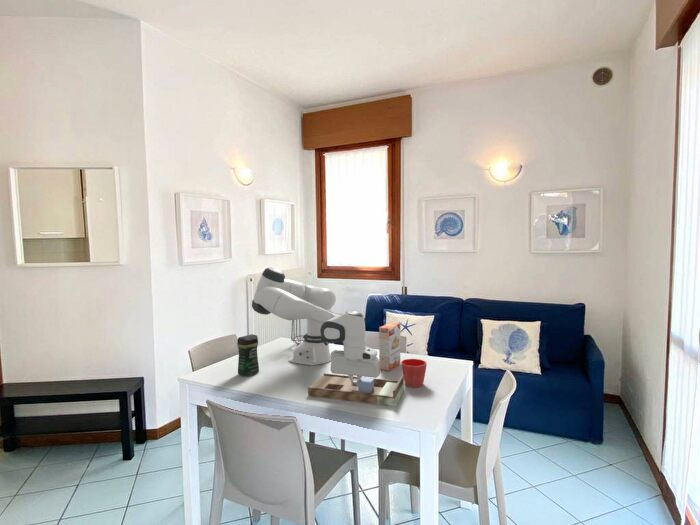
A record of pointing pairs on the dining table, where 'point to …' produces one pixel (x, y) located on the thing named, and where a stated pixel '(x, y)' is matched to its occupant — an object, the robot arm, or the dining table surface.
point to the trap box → (342, 390)
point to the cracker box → (389, 346)
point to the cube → (366, 385)
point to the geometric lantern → (296, 332)
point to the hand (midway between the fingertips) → (355, 385)
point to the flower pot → (413, 372)
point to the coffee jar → (248, 355)
